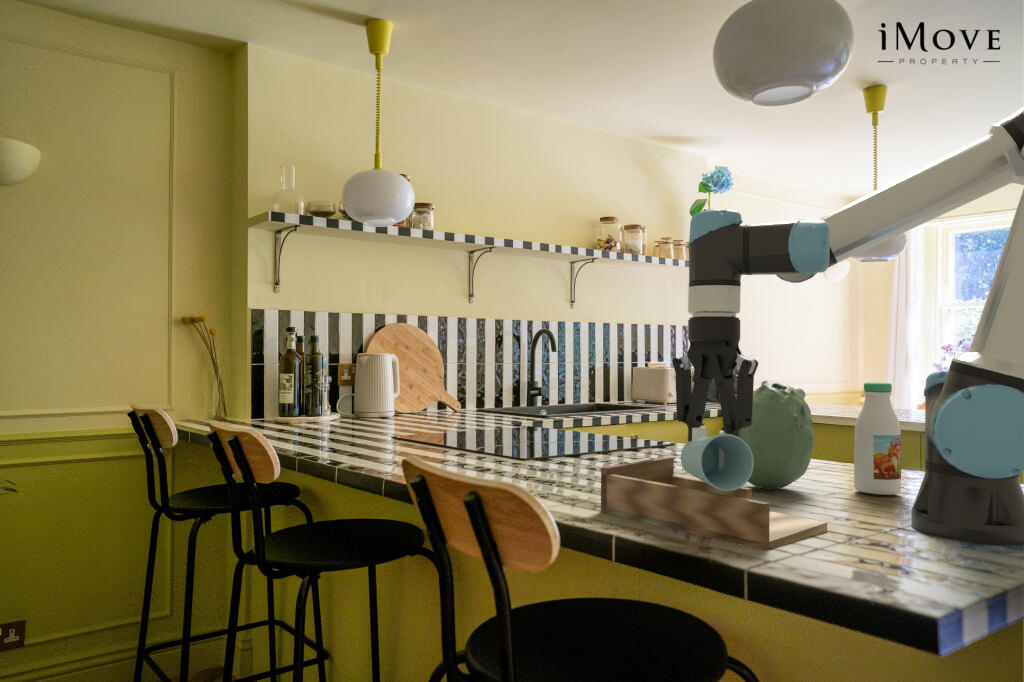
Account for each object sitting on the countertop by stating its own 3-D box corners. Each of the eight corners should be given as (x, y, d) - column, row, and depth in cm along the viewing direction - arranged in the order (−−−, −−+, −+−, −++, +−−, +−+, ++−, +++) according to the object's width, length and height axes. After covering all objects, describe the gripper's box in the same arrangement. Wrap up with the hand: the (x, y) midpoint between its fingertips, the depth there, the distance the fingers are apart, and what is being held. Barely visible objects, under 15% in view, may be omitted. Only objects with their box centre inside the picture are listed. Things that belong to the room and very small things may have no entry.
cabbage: (709, 490, 135) (709, 381, 135) (746, 475, 149) (746, 378, 149) (796, 502, 125) (797, 385, 125) (827, 485, 140) (827, 380, 140)
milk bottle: (855, 493, 132) (855, 383, 132) (852, 486, 139) (853, 381, 139) (903, 497, 129) (903, 384, 129) (898, 489, 136) (898, 382, 136)
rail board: (827, 532, 105) (827, 478, 105) (764, 555, 93) (764, 494, 93) (667, 500, 126) (667, 454, 126) (600, 515, 115) (601, 465, 115)
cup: (732, 452, 110) (764, 456, 100) (703, 494, 109) (733, 502, 98) (693, 421, 110) (721, 422, 99) (664, 463, 108) (689, 468, 98)
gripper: (780, 315, 105) (778, 478, 105) (681, 317, 118) (680, 462, 118) (752, 313, 100) (750, 484, 100) (652, 316, 113) (650, 467, 113)
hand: (712, 472), depth 109 cm, fingers closed on cup, 4 cm apart
